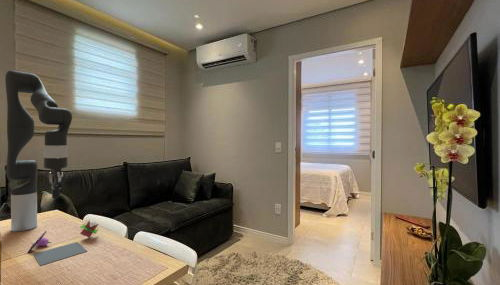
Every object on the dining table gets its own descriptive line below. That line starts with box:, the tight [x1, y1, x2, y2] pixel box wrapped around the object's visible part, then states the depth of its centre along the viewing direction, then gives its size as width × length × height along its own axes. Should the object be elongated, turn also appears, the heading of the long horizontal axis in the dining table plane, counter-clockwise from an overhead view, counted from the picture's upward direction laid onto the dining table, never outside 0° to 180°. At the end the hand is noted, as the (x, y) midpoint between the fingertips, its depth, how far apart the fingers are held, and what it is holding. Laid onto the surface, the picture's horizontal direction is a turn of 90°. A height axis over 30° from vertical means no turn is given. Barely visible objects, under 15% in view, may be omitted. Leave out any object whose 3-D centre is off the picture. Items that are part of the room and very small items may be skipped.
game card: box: [27, 230, 52, 254], centre depth 97 cm, size 7×5×9 cm
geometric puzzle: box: [79, 219, 99, 238], centre depth 106 cm, size 7×7×8 cm
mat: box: [33, 241, 88, 267], centre depth 92 cm, size 13×14×1 cm
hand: (55, 198), depth 98 cm, fingers closed
